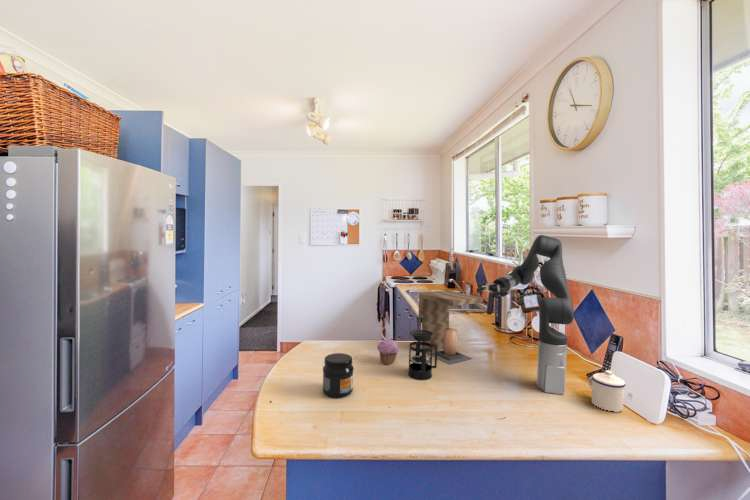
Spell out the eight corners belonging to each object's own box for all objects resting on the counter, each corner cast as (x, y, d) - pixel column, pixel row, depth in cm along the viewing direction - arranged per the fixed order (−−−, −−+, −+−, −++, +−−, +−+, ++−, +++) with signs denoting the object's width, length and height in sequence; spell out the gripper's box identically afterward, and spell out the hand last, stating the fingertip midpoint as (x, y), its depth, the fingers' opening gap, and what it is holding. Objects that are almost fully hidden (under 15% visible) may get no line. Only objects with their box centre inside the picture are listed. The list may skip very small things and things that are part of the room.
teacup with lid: (631, 412, 107) (633, 376, 107) (606, 414, 106) (608, 377, 105) (599, 394, 119) (601, 362, 118) (577, 396, 117) (579, 363, 117)
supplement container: (359, 393, 116) (359, 358, 115) (333, 402, 109) (334, 366, 108) (341, 382, 124) (342, 350, 123) (316, 390, 117) (317, 356, 116)
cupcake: (373, 361, 145) (373, 338, 145) (388, 357, 150) (389, 335, 150) (386, 368, 138) (387, 344, 137) (402, 363, 143) (402, 340, 143)
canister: (455, 358, 150) (456, 332, 149) (443, 357, 151) (444, 331, 150) (456, 354, 155) (457, 328, 154) (444, 352, 157) (445, 327, 156)
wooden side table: (445, 345, 168) (447, 290, 167) (480, 360, 150) (482, 297, 148) (417, 351, 158) (419, 292, 157) (451, 367, 140) (453, 301, 139)
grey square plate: (449, 349, 163) (449, 346, 163) (472, 358, 151) (472, 355, 151) (427, 354, 155) (427, 351, 155) (449, 364, 143) (449, 361, 143)
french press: (409, 380, 127) (411, 320, 126) (404, 370, 136) (405, 314, 135) (439, 379, 128) (441, 320, 127) (432, 369, 138) (433, 314, 136)
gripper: (492, 273, 177) (472, 282, 168) (517, 280, 166) (498, 290, 156) (492, 287, 179) (472, 296, 170) (516, 294, 168) (497, 304, 159)
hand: (484, 293), depth 163 cm, fingers open, 8 cm apart
